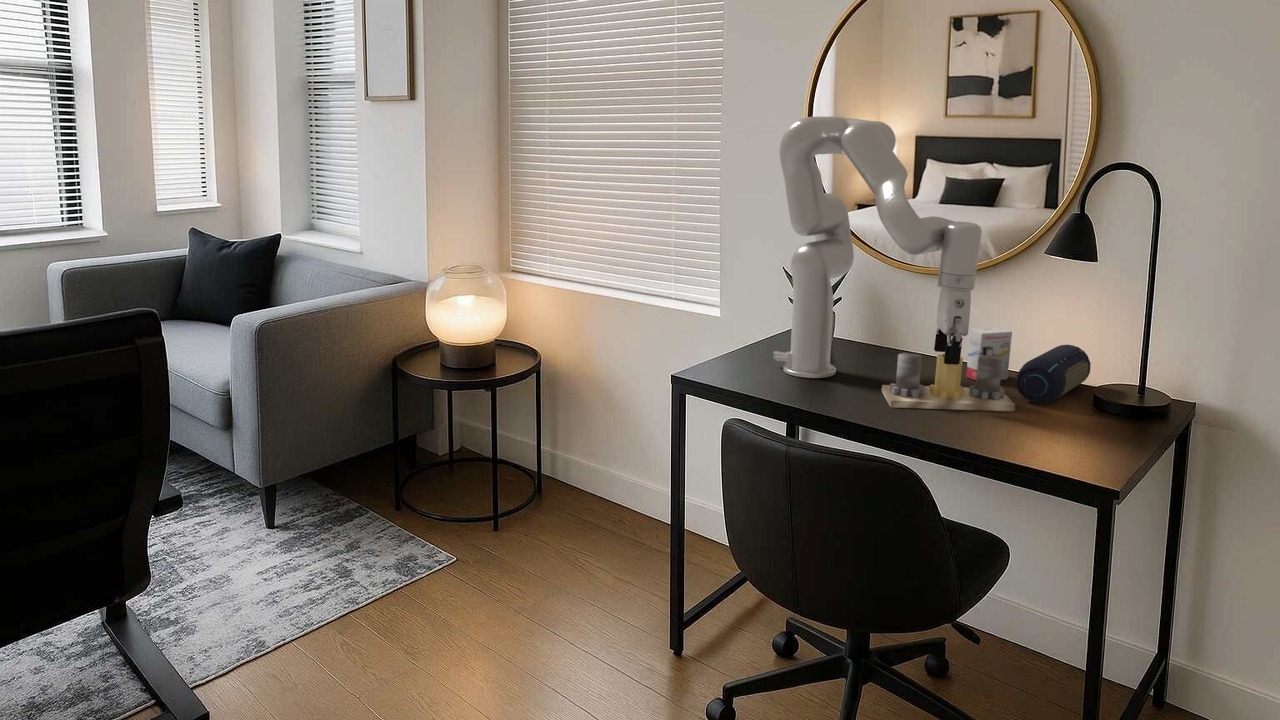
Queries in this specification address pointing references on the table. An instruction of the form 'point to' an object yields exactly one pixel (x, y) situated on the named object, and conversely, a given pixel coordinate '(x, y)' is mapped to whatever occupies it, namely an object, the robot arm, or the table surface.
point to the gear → (947, 380)
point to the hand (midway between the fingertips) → (946, 357)
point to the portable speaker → (1053, 373)
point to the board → (975, 398)
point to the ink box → (988, 348)
